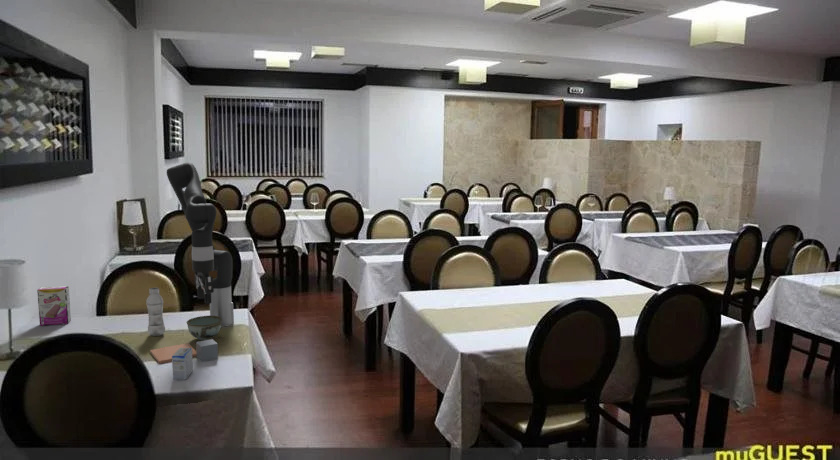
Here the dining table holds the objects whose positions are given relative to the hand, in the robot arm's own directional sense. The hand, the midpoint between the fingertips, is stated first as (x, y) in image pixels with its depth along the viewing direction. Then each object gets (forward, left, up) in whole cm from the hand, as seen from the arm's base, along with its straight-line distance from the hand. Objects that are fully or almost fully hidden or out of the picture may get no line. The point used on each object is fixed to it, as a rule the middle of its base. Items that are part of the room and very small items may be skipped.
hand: (204, 301), depth 215 cm
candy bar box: (+41, -80, -22) cm, 92 cm away
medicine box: (+12, +12, -22) cm, 28 cm away
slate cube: (0, 0, -22) cm, 22 cm away
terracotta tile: (+9, -11, -22) cm, 26 cm away
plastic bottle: (+9, -38, -22) cm, 45 cm away
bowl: (-6, -22, -22) cm, 32 cm away
